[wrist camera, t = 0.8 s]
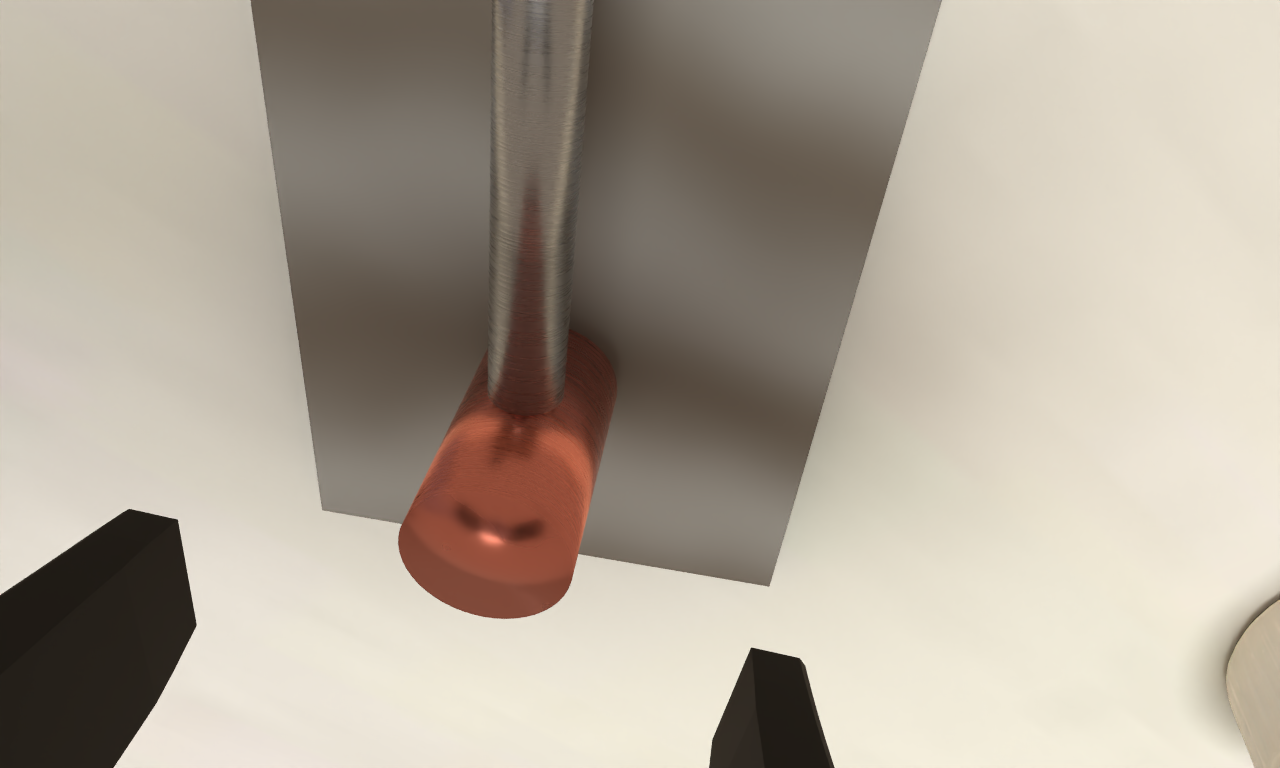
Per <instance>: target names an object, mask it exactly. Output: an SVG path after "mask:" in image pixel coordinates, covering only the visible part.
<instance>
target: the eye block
mask: <svg viewBox="0 0 1280 768" xmlns="http://www.w3.org/2000/svg"><path fill="white" fill-rule="evenodd" d="M941 1H942V0H594V3H593V16H592V29H591V43H590V56H589V69H588V82H587V96H586V109H585V122H584V136H583V149H582V162H581V175H580V189H579V202H578V215H577V229H576V242H575V255H574V268H573V282H572V295H571V308H570V322H569V329H571V330H573V331H575V332H578V333H580V334H581V335H583V336H585V337H586V338H588V339H589V340H590V341H592V342H593V343H594V344H595V345H596V346H598V347H599V348H600V349H601V350H602V352H603V353H604V354H605V355H606V357H607V358H608V360H609V361H610V363H611V365H612V367H613V370H614V372H615V376H616V379H617V397H616V402H615V406H614V410H613V414H612V418H611V422H610V426H609V430H608V434H607V438H606V442H605V446H604V450H603V454H602V458H601V463H600V467H599V471H598V475H597V479H596V483H595V487H594V491H593V495H592V499H591V503H590V507H589V511H588V515H587V520H586V524H585V528H584V532H583V536H582V540H581V544H580V548H579V552H578V554H582V555H588V556H594V557H600V558H605V559H611V560H617V561H623V562H629V563H635V564H641V565H646V566H652V567H658V568H664V569H670V570H676V571H682V572H687V573H693V574H699V575H705V576H711V577H717V578H723V579H728V580H734V581H740V582H746V583H752V584H758V585H764V586H769V585H770V582H771V579H772V575H773V572H774V568H775V565H776V562H777V558H778V555H779V551H780V548H781V545H782V541H783V538H784V534H785V531H786V528H787V524H788V521H789V517H790V514H791V511H792V507H793V504H794V500H795V497H796V494H797V490H798V487H799V483H800V480H801V477H802V473H803V470H804V466H805V463H806V460H807V456H808V453H809V449H810V446H811V443H812V439H813V436H814V432H815V429H816V426H817V422H818V419H819V416H820V412H821V409H822V405H823V402H824V399H825V395H826V392H827V388H828V385H829V382H830V378H831V375H832V371H833V368H834V365H835V361H836V358H837V354H838V351H839V348H840V344H841V341H842V337H843V334H844V331H845V327H846V324H847V320H848V317H849V314H850V310H851V307H852V303H853V300H854V297H855V293H856V290H857V286H858V283H859V280H860V276H861V273H862V269H863V266H864V263H865V259H866V256H867V252H868V249H869V246H870V242H871V239H872V236H873V232H874V229H875V225H876V222H877V219H878V215H879V212H880V208H881V205H882V202H883V198H884V195H885V191H886V188H887V185H888V181H889V178H890V174H891V171H892V168H893V164H894V161H895V157H896V154H897V151H898V147H899V144H900V140H901V137H902V134H903V130H904V127H905V123H906V120H907V117H908V113H909V110H910V106H911V103H912V100H913V96H914V93H915V89H916V86H917V83H918V79H919V76H920V72H921V69H922V66H923V62H924V59H925V55H926V52H927V49H928V45H929V42H930V39H931V35H932V32H933V28H934V25H935V22H936V18H937V15H938V11H939V8H940V5H941ZM251 6H252V13H253V21H254V28H255V35H256V42H257V49H258V56H259V63H260V70H261V77H262V84H263V92H264V99H265V106H266V113H267V120H268V127H269V134H270V141H271V148H272V156H273V163H274V170H275V177H276V184H277V191H278V198H279V205H280V212H281V219H282V227H283V234H284V241H285V248H286V255H287V262H288V269H289V276H290V283H291V291H292V298H293V305H294V312H295V319H296V326H297V333H298V340H299V347H300V354H301V362H302V369H303V376H304V383H305V390H306V397H307V404H308V411H309V418H310V426H311V433H312V440H313V447H314V454H315V461H316V468H317V475H318V482H319V489H320V497H321V504H322V510H324V511H330V512H336V513H342V514H348V515H354V516H359V517H365V518H371V519H377V520H383V521H389V522H395V523H400V524H402V523H403V521H404V519H405V517H406V515H407V513H408V511H409V509H410V507H411V505H412V503H413V501H414V498H415V496H416V494H417V492H418V490H419V488H420V486H421V484H422V482H423V480H424V478H425V476H426V474H427V472H428V470H429V468H430V466H431V463H432V461H433V459H434V457H435V455H436V453H437V451H438V449H439V447H440V445H441V443H442V441H443V439H444V437H445V435H446V433H447V431H448V428H449V426H450V424H451V422H452V420H453V418H454V416H455V414H456V412H457V410H458V408H459V406H460V404H461V402H462V400H463V398H464V395H465V393H466V391H467V389H468V387H469V385H470V383H471V381H472V379H473V377H474V375H475V373H476V371H477V369H478V367H479V365H480V363H481V360H482V358H483V356H484V354H485V352H486V350H487V349H488V304H489V214H490V124H491V35H492V0H251Z"/></svg>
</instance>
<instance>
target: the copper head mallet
mask: <svg viewBox="0 0 1280 768" xmlns="http://www.w3.org/2000/svg"><path fill="white" fill-rule="evenodd" d="M593 3H594V0H492V35H491V124H490V214H489V304H488V349H487V350H486V352H485V354H484V356H483V358H482V360H481V363H480V365H479V367H478V369H477V371H476V373H475V375H474V377H473V379H472V381H471V383H470V385H469V387H468V389H467V391H466V393H465V395H464V398H463V400H462V402H461V404H460V406H459V408H458V410H457V412H456V414H455V416H454V418H453V420H452V422H451V424H450V426H449V428H448V431H447V433H446V435H445V437H444V439H443V441H442V443H441V445H440V447H439V449H438V451H437V453H436V455H435V457H434V459H433V461H432V463H431V466H430V468H429V470H428V472H427V474H426V476H425V478H424V480H423V482H422V484H421V486H420V488H419V490H418V492H417V494H416V496H415V498H414V501H413V503H412V505H411V507H410V509H409V511H408V513H407V515H406V517H405V519H404V521H403V523H402V526H401V528H400V532H399V538H398V545H399V551H400V555H401V558H402V561H403V563H404V565H405V567H406V569H407V570H408V571H409V573H410V574H411V576H412V577H413V578H414V579H415V580H416V582H417V583H418V584H419V585H420V586H421V587H423V588H424V589H425V590H426V591H427V592H429V593H430V594H431V595H433V596H434V597H435V598H437V599H439V600H440V601H442V602H444V603H446V604H448V605H450V606H452V607H454V608H456V609H459V610H461V611H464V612H467V613H471V614H474V615H478V616H483V617H490V618H501V619H510V618H521V617H527V616H531V615H535V614H538V613H540V612H543V611H545V610H547V609H548V608H550V607H552V606H553V605H555V604H556V603H557V602H558V601H559V600H560V599H561V598H562V597H563V596H564V595H565V593H566V592H567V590H568V588H569V586H570V584H571V581H572V577H573V572H574V568H575V564H576V560H577V556H578V552H579V548H580V544H581V540H582V536H583V532H584V528H585V524H586V520H587V515H588V511H589V507H590V503H591V499H592V495H593V491H594V487H595V483H596V479H597V475H598V471H599V467H600V463H601V458H602V454H603V450H604V446H605V442H606V438H607V434H608V430H609V426H610V422H611V418H612V414H613V410H614V406H615V402H616V397H617V379H616V376H615V372H614V370H613V367H612V365H611V363H610V361H609V360H608V358H607V357H606V355H605V354H604V353H603V352H602V350H601V349H600V348H599V347H598V346H596V345H595V344H594V343H593V342H592V341H590V340H589V339H588V338H586V337H585V336H583V335H581V334H580V333H578V332H575V331H573V330H571V329H569V322H570V308H571V295H572V282H573V268H574V255H575V242H576V229H577V215H578V202H579V189H580V175H581V162H582V149H583V136H584V122H585V109H586V96H587V82H588V69H589V56H590V43H591V29H592V16H593Z"/></svg>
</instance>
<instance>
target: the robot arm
mask: <svg viewBox="0 0 1280 768" xmlns="http://www.w3.org/2000/svg"><path fill="white" fill-rule="evenodd" d="M196 626H197V624H196V619H195V613H194V608H193V602H192V597H191V591H190V585H189V580H188V574H187V569H186V563H185V558H184V552H183V546H182V541H181V535H180V530H179V524H178V520H177V519H172V518H168V517H163V516H159V515H154V514H150V513H145V512H141V511H136V510H132V509H128V510H127V511H125V512H123V513H122V514H120V515H119V516H117V517H115V518H114V519H112V520H111V521H109V522H108V523H106V524H105V525H103V526H102V527H100V528H99V529H97V530H96V531H94V532H93V533H91V534H90V535H88V536H87V537H86V538H84V539H83V540H81V541H80V542H78V543H77V544H75V545H74V546H72V547H71V548H69V549H68V550H66V551H65V552H63V553H62V554H61V555H59V556H58V557H56V558H55V559H53V560H52V561H50V562H49V563H47V564H46V565H44V566H43V567H41V568H40V569H38V570H37V571H35V572H34V573H32V574H31V575H29V576H28V577H26V578H25V579H24V580H22V581H21V582H19V583H18V584H16V585H15V586H13V587H12V588H10V589H9V590H7V591H6V592H4V593H3V594H1V595H0V768H113V767H114V766H115V765H116V763H117V762H118V760H119V759H120V757H121V756H122V754H123V753H124V751H125V750H126V748H127V747H128V745H129V744H130V742H131V741H132V739H133V738H134V736H135V735H136V733H137V732H138V730H139V729H140V727H141V726H142V724H143V723H144V721H145V720H146V718H147V717H148V715H149V714H150V712H151V711H152V709H153V707H154V706H155V704H156V703H157V701H158V699H159V697H160V695H161V694H162V692H163V690H164V688H165V686H166V684H167V682H168V681H169V679H170V677H171V675H172V673H173V671H174V669H175V667H176V665H177V663H178V661H179V659H180V657H181V655H182V653H183V651H184V649H185V647H186V645H187V643H188V641H189V639H190V638H191V636H192V634H193V632H194V630H195V628H196ZM709 768H834V765H833V762H832V759H831V756H830V752H829V749H828V746H827V743H826V740H825V736H824V733H823V730H822V726H821V723H820V720H819V716H818V713H817V709H816V706H815V702H814V698H813V695H812V691H811V687H810V683H809V679H808V675H807V671H806V667H805V665H804V664H803V662H802V661H801V660H800V658H796V657H792V656H787V655H783V654H778V653H774V652H769V651H765V650H760V649H756V648H751V649H750V652H749V654H748V656H747V659H746V661H745V664H744V666H743V668H742V671H741V673H740V675H739V678H738V680H737V683H736V685H735V687H734V690H733V692H732V694H731V697H730V699H729V702H728V704H727V706H726V709H725V711H724V713H723V716H722V718H721V721H720V723H719V725H718V728H717V730H716V732H715V735H714V737H713V740H712V748H711V757H710V765H709Z"/></svg>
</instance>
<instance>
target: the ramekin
mask: <svg viewBox="0 0 1280 768" xmlns="http://www.w3.org/2000/svg"><path fill="white" fill-rule="evenodd" d="M1226 685H1227V694H1228V698H1229V702H1230V705H1231V708H1232V711H1233V714H1234V716H1235V719H1236V722H1237V724H1238V727H1239V729H1240V732H1241V734H1242V737H1243V739H1244V742H1245V744H1246V746H1247V749H1248V752H1249V754H1250V757H1251V759H1252V762H1253V765H1254V767H1255V768H1280V599H1279V600H1278V601H1276V602H1275V603H1274V604H1273V605H1271V606H1270V607H1269V608H1267V609H1266V610H1265V611H1264V612H1263V613H1262V614H1261V615H1260V616H1259V617H1257V618H1256V619H1255V620H1254V621H1253V622H1252V623H1251V625H1250V626H1249V627H1248V628H1247V630H1246V631H1245V632H1244V634H1243V635H1242V637H1241V638H1240V640H1239V641H1238V643H1237V645H1236V646H1235V649H1234V651H1233V653H1232V656H1231V658H1230V660H1229V663H1228V668H1227V675H1226Z"/></svg>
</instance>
